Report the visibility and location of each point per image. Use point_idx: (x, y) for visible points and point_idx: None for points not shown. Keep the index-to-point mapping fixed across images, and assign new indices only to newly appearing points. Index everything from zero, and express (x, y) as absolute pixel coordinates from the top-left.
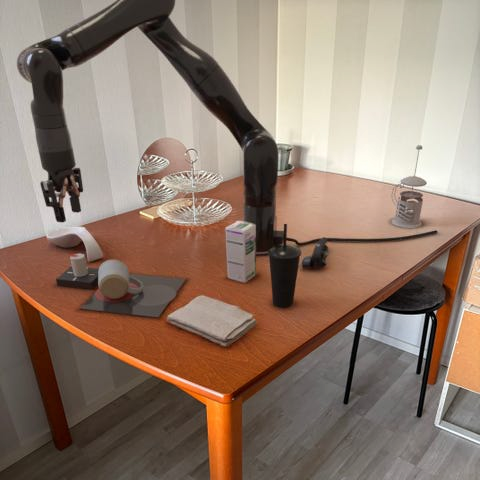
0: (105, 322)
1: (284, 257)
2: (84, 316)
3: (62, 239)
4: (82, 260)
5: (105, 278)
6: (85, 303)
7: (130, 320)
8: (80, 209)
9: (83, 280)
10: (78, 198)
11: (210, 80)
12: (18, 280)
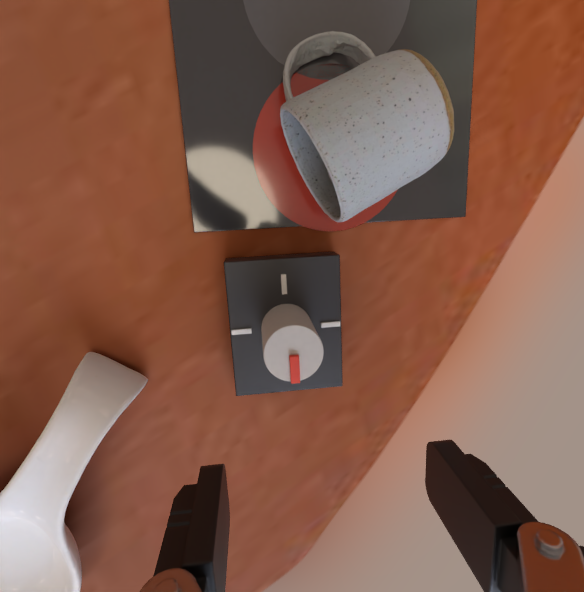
0: (524, 88)
1: None
2: (499, 177)
3: (75, 546)
4: (301, 322)
5: (453, 121)
6: (433, 215)
7: (503, 3)
8: (205, 473)
9: (331, 289)
10: (191, 556)
11: None
12: (332, 501)
